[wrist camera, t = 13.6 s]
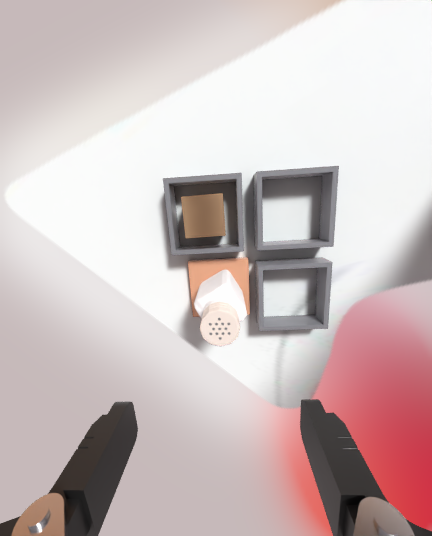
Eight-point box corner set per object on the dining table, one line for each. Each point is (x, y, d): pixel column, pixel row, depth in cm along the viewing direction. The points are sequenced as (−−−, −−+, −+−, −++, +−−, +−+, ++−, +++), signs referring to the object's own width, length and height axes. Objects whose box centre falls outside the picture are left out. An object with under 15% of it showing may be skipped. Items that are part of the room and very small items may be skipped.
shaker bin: (322, 257, 26) (332, 262, 24) (319, 318, 28) (327, 328, 26) (255, 260, 27) (258, 266, 24) (256, 320, 29) (259, 330, 26)
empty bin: (327, 170, 24) (338, 165, 22) (323, 243, 26) (333, 246, 24) (253, 175, 25) (256, 171, 22) (255, 246, 26) (258, 250, 24)
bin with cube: (239, 176, 25) (241, 172, 22) (242, 247, 27) (243, 251, 24) (169, 181, 25) (162, 178, 23) (176, 251, 27) (171, 255, 25)
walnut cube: (222, 195, 25) (222, 193, 21) (225, 231, 26) (225, 235, 22) (187, 198, 26) (180, 196, 22) (191, 234, 26) (185, 238, 23)
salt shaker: (216, 309, 28) (212, 359, 19) (198, 283, 27) (184, 321, 18) (244, 293, 27) (254, 336, 18) (226, 265, 26) (227, 296, 17)
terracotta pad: (247, 257, 27) (248, 258, 26) (249, 311, 29) (249, 314, 28) (188, 260, 27) (187, 261, 26) (193, 313, 29) (193, 316, 28)
